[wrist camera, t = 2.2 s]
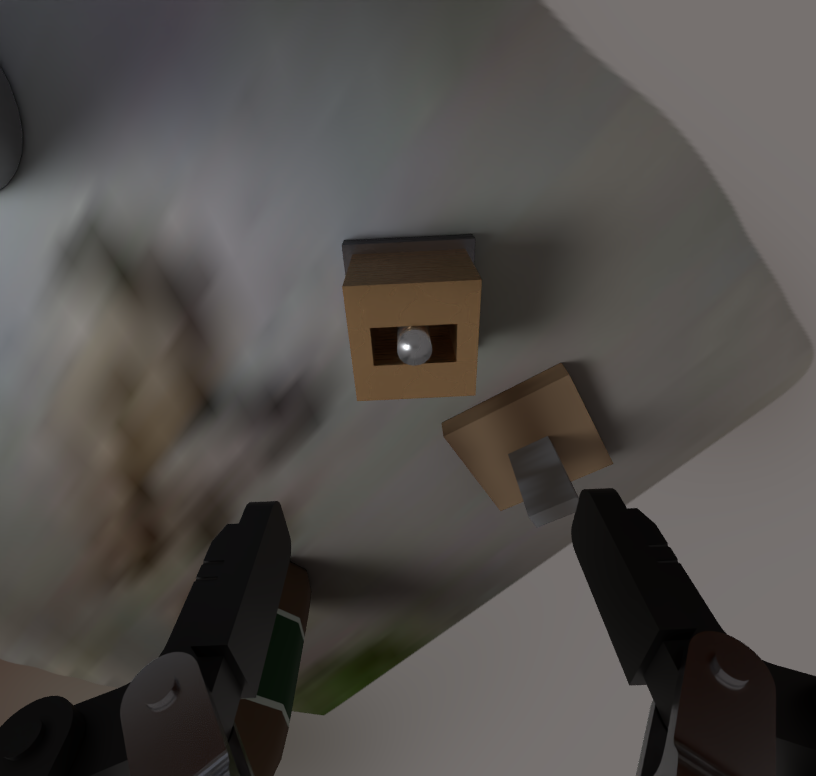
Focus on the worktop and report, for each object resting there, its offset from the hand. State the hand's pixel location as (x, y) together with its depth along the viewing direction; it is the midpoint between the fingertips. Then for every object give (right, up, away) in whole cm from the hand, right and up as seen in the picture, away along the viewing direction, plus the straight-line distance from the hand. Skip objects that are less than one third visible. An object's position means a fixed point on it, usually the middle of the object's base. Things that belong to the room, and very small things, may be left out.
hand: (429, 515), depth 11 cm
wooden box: (+8, 0, +19) cm, 21 cm away
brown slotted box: (0, +8, +13) cm, 15 cm away
